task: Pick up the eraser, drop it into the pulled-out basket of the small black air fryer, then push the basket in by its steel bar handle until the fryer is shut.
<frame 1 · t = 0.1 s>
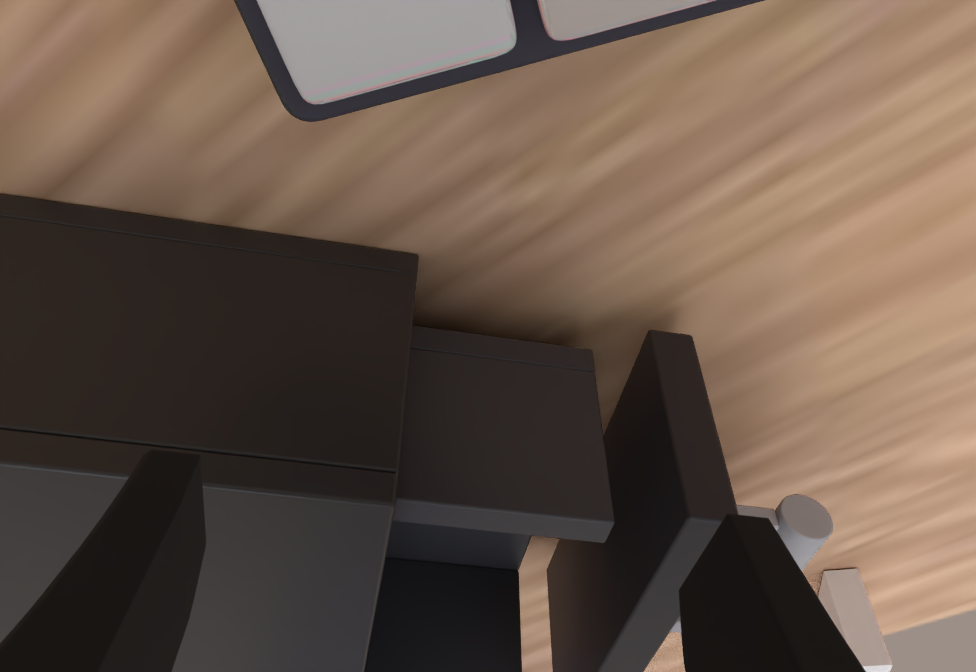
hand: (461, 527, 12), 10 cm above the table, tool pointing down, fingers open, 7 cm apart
eraser: (830, 599, 33), on the table
air fryer: (138, 389, 25), on the table
basket: (473, 537, 23), point 4 cm above the table, slide at 6.0 cm
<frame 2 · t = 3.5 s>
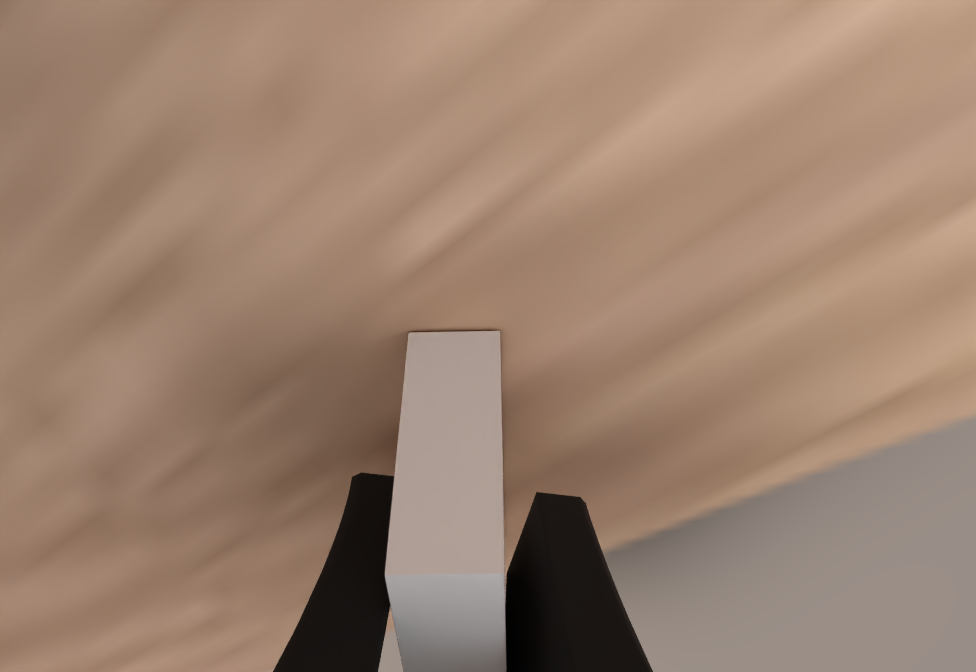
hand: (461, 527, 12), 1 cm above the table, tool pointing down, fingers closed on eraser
eraser: (462, 439, 13), on the table, touching gripper
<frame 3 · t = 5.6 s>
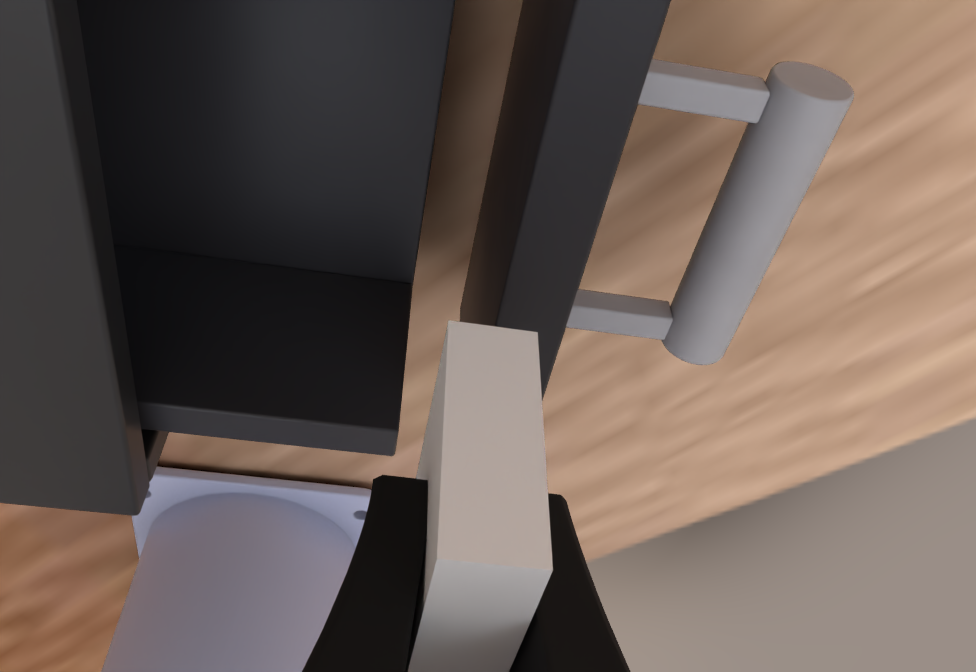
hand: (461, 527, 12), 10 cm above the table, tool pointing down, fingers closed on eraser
eraser: (464, 431, 13), point 9 cm above the table, touching gripper
basket: (311, 151, 15), point 4 cm above the table, slide at 6.0 cm
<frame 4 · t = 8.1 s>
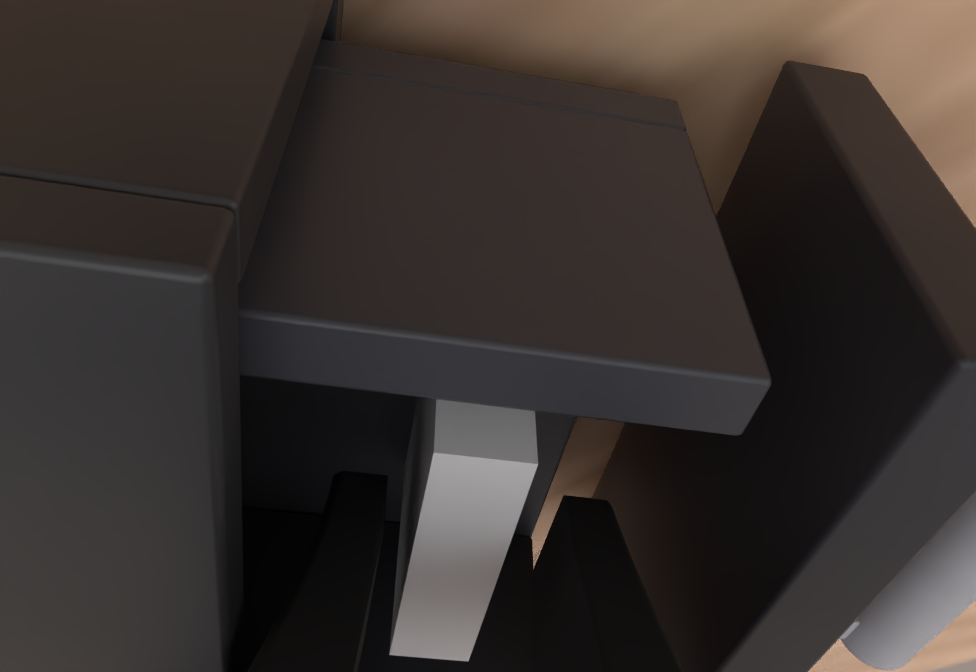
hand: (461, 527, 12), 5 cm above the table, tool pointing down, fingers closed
eraser: (459, 368, 14), point 2 cm above the table, touching basket
basket: (454, 463, 13), point 4 cm above the table, slide at 5.9 cm, touching eraser
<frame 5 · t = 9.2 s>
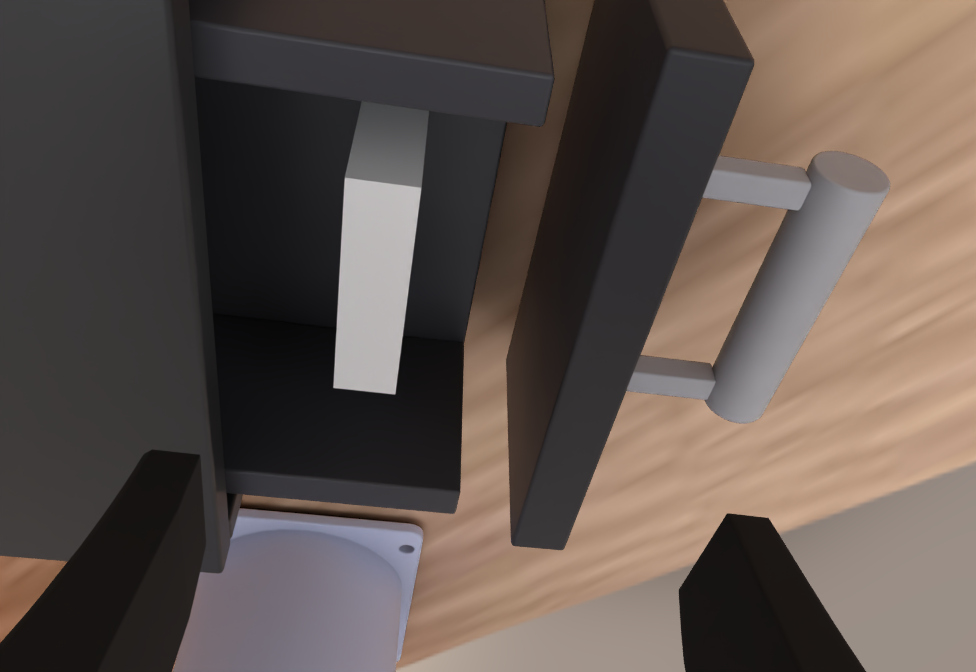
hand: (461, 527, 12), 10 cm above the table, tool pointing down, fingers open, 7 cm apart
eraser: (390, 179, 18), point 2 cm above the table, touching basket
basket: (380, 236, 16), point 4 cm above the table, slide at 5.9 cm, touching eraser
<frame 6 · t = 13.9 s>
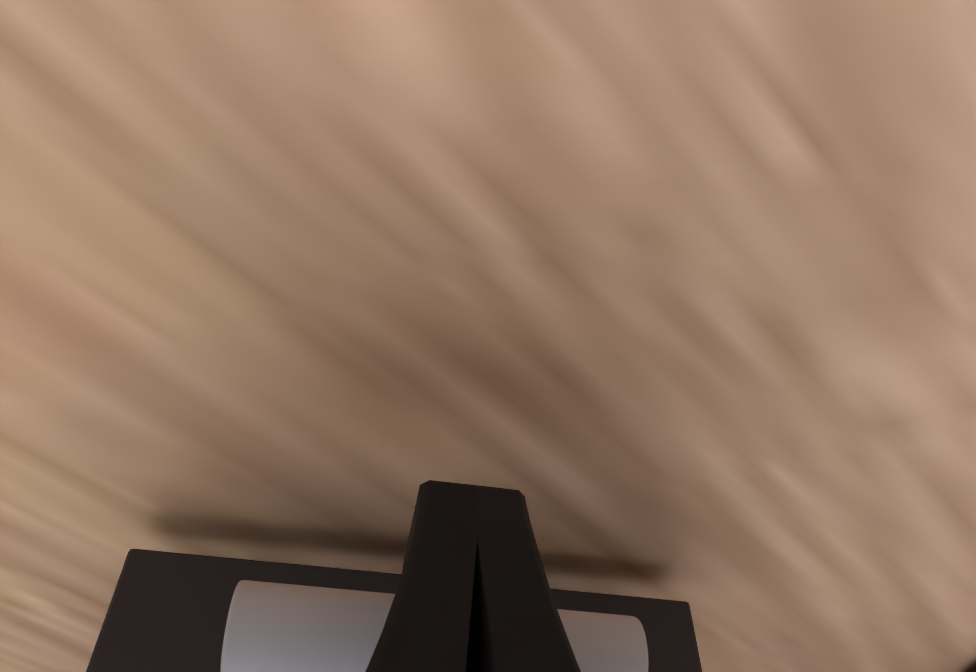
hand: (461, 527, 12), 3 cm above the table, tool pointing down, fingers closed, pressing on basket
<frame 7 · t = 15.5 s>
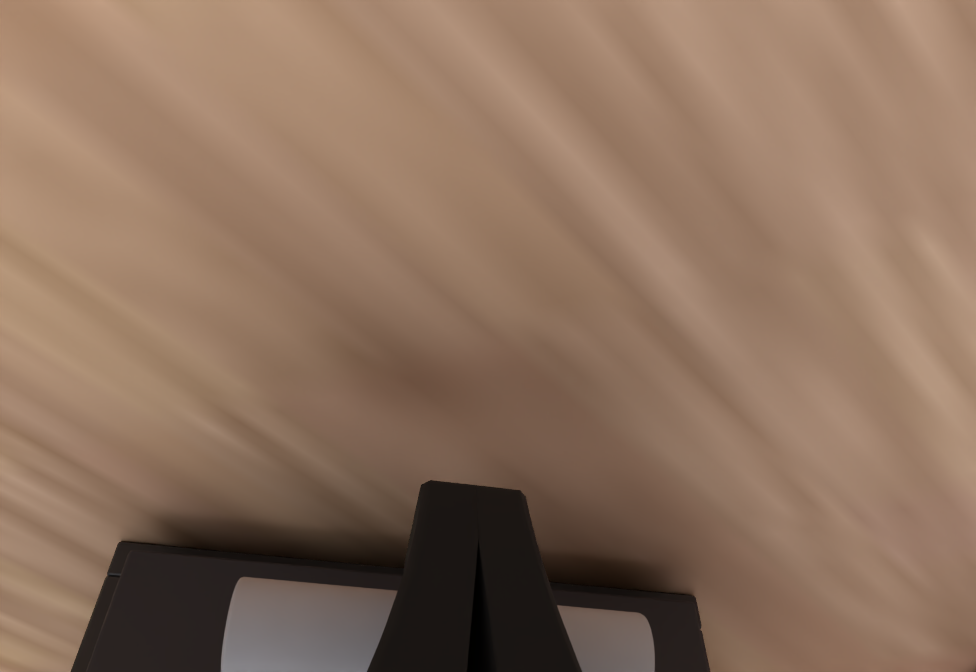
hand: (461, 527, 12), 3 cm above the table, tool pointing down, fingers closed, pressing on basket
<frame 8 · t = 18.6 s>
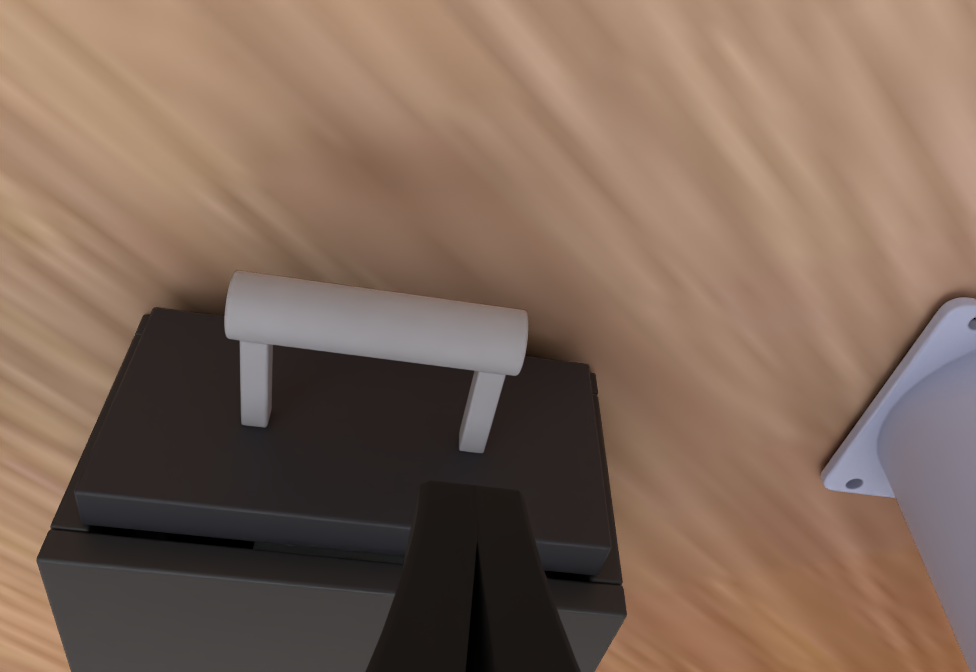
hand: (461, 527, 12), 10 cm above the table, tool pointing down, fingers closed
eraser: (359, 472, 25), point 2 cm above the table, touching basket
air fryer: (356, 499, 29), on the table
basket: (352, 531, 23), point 4 cm above the table, slide at 0.0 cm, touching eraser
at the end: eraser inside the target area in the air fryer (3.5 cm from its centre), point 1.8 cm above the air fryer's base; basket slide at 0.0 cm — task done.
